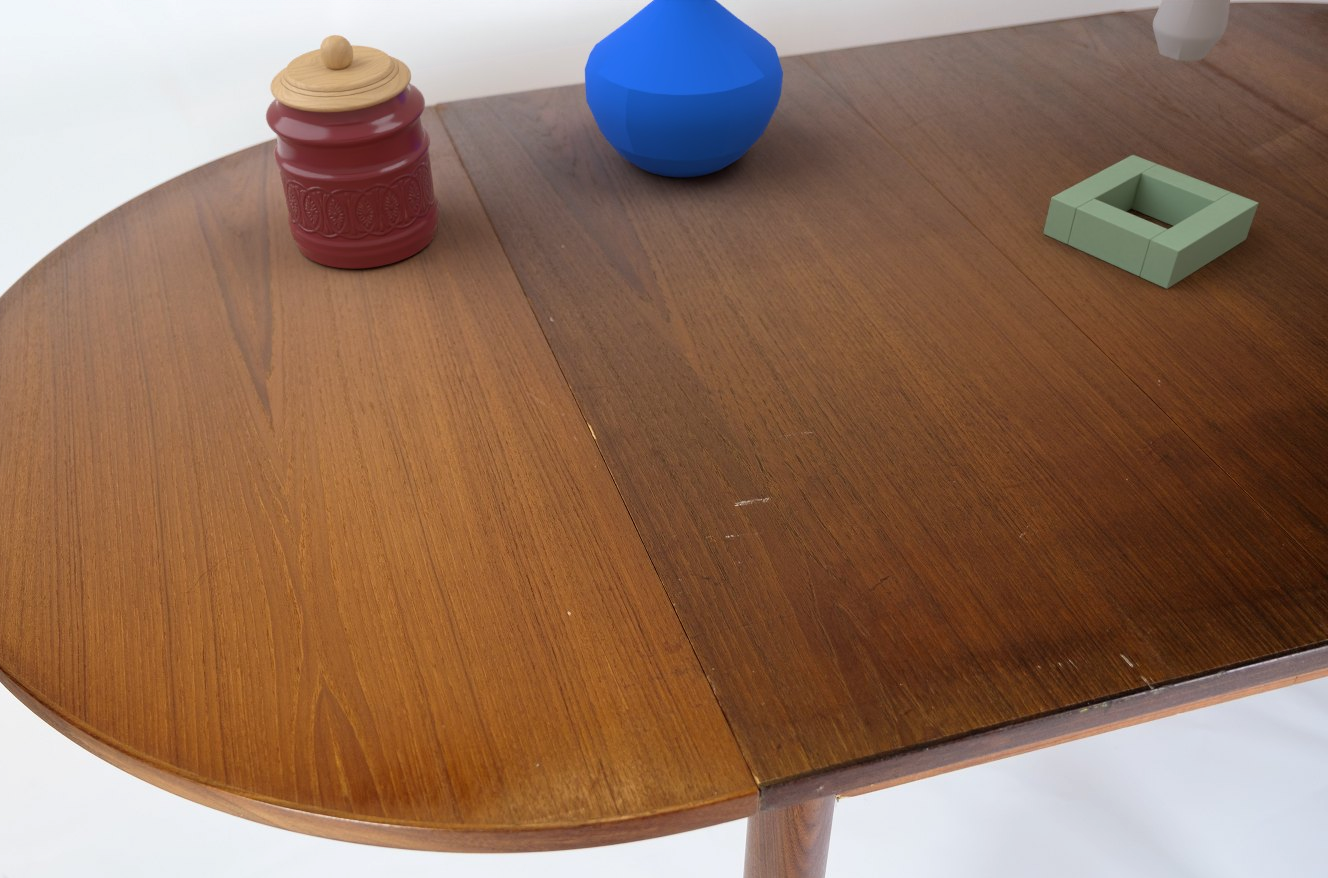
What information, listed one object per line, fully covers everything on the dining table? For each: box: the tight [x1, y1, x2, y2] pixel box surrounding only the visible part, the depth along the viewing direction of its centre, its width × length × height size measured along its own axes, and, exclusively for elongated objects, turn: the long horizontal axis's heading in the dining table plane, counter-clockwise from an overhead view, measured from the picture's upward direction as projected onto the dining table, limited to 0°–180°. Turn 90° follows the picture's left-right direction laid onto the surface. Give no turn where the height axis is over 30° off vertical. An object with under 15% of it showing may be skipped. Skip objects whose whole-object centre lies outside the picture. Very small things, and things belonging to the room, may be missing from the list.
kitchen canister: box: [265, 34, 440, 270], centre depth 104 cm, size 13×13×18 cm
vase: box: [584, 0, 784, 178], centre depth 114 cm, size 18×18×19 cm
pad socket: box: [1042, 154, 1259, 290], centre depth 105 cm, size 12×12×4 cm
